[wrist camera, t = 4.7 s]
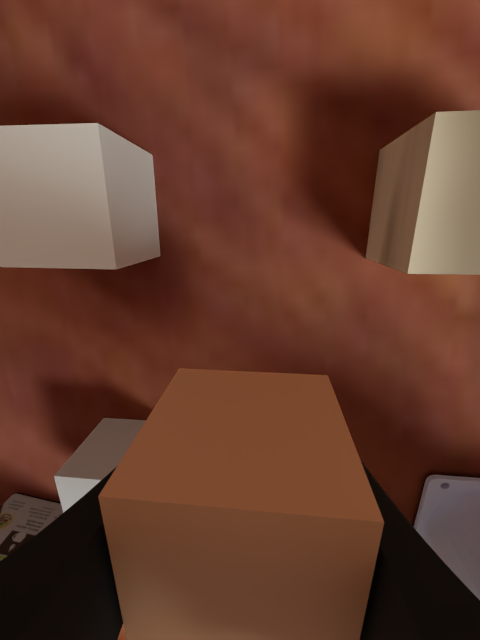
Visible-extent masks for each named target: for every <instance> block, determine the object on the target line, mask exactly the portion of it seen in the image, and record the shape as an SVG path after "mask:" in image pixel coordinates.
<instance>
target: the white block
mask: <svg viewBox="0 0 480 640" xmlns="http://www.w3.org/2000/svg"><path fill="white" fill-rule="evenodd" d="M156 257H160V243H159V231H158V218H157V205H156V193H155V180H154V168H153V155H152V154H150V153H148V152H147V151H145V150H143V149H141V148H140V147H138V146H136V145H135V144H133V143H131V142H129V141H128V140H126V139H124V138H123V137H121V136H119V135H117V134H116V133H114V132H112V131H111V130H109V129H107V128H105V127H104V126H102V125H100V124H99V123H80V124H44V125H8V126H0V267H19V268H69V269H120V268H123V267H126V266H130V265H133V264H136V263H140V262H143V261H146V260H150V259H153V258H156Z"/></svg>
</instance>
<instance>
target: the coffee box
mask: <svg viewBox="0 0 480 640" xmlns="http://www.w3.org/2000/svg"><path fill="white" fill-rule="evenodd" d="M61 514H63V510H62V506H61V504H59V503H55V502H50V501H46V500H42V499H38V498H33V497H29V496H25V495H21V494H17V493H16V494H13V495H11V497H10V498H9V499H8V500H6V502H5V503H4V504H3V505H2V506H1V507H0V561H1V560H3V559H4V558H5V557H7V556H8V555H9V554H11V553H12V552H13V551H15V550H16V549H18V548H19V547H20V546H22V545H23V544H24V543H26V542H27V541H28V540H30V539H31V538H32V537H34V536H35V535H36V534H38V533H39V532H40V531H42V530H43V529H44V528H45V527H47V526H48V525H49V524H50V523H52V522H53V521H54V520H55V519H57V518H58V517H59V516H60V515H61Z"/></svg>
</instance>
